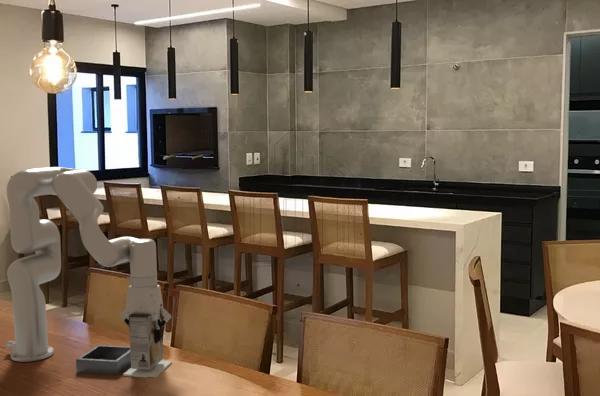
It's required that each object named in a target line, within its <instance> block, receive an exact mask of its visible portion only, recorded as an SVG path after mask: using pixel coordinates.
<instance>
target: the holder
mask: <svg viewBox="0 0 600 396" xmlns="http://www.w3.org/2000/svg"><path fill="white" fill-rule="evenodd" d="M75 362H76V363H75V364H76V365H75V369H76V373H79V374H80V373H81V374H92V375H93V374H95V375H97V374H99V375H112V376H118V375H120V374H121V373H122V372H123V371H125V370H126V369H127V368H128V367H131V355H130V346H127V345H125V346H123V345H121V346H120V345H104V344H103V345H101V344H97V345H95V346H94V347H92V348H91V349H90V350H88V351H87V352H85V353H83V354H82V355H80V356H79V357H77V358H76V359H75Z"/></svg>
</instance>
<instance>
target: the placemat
mask: <svg viewBox="0 0 600 396" xmlns="http://www.w3.org/2000/svg"><path fill="white" fill-rule="evenodd" d="M172 363H173V362H172V361H171V360H161V361H160V362H159V363H158V364H157V365H155V366H154V367H153V368H152V369H151V370H146V369H132V368H131V367H130V368H128V369H127V370H126V371H125V372H123V374H122V377H132V376H133V377H134V378H147V377H155V378H154V379H156V378H157V377H159V374H160V373H161V372H162V373H163V372H164V371H165V370H166V369H167V368H168V367H170V366H171V365H172ZM162 373H161V374H162ZM161 374H160V375H161Z"/></svg>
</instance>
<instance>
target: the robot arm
mask: <svg viewBox="0 0 600 396" xmlns="http://www.w3.org/2000/svg"><path fill="white" fill-rule="evenodd" d="M97 189H98V181H97V178H96V177H95V175H94V174H93V173H92V172H91V171H89V170H86V169H80V168H70V167H69V168H68V167H62V166H61V167H60V166H50V167H35V168H26V169H23V170H20V171H17V172H15V173H14V174H12V176H10V178H9V180H8V182H7V185H6V197H7V198H6V199H7V203H8V209H9V227H10V228H9V229H10V231H9V232H10V243H11V247H12V248H13V250H14V252H16V253H17V254H28V253H29V254H30V253H34V252H35V254H33V255H28V256H25V257H20V258H18V259H15V260H14V261H13V262H12V263H11V264H10V265H9V266H8V268H7V273H6V276H7V281H8V284H9V289H10V292H11V299H12V311H13V312H12V313H13V325H14V329H13V330H14V340H8V341H7V342H6V344H5V349H6V350H12V352H11V354H10V359H11V360H12V361H15V362H19V363H22V362H23V363H26V362H27V363H28V362H34V361H40V360H44V359H46V358H50V357H51V356H52V355H53V354H54V353H55V352H54V350H55V349H54V348H53V347H52V346H49V339H48V324H47V308H46V307H47V306H46V297H45V294H44V292H43V291H42V289H41V287H40V285H41V284H45V283H48V282H51V281H53V280H56V279H57V278H58V276H59V275H60V273H61V269H62V250H61V249H62V247H61V234H60V231H59V228H58V227H57V225H56V224H55V223H54V222H53V221H51V220H50V219H45V218H44V219H43V218H42V219H40V209H39V205H38V202H37V201H36V200H35V197H39V196H46V195H54V194H55V195H56V197H58V198H59V200H60V201H61V202H62V203H63V205H64V206H65V207H66V209H68V211H69V212H70V213H71V215H73V217H74V218H75V219H76V221H77V222H78V224H79V235H80V239H81V241H82V244H83V246H84V247H85V249H86V251H87V252H88V253H89V255H91V257H92V258H93V259H94V260H95V261H96V262H97V263H98V264H99V265H101V266H103V267H104V268H105V267H106V268H111V267H115V266H118V265H121V264H124V263H128V262H129V268H130V271H129V272H130V276H127V277H126V282H129V286H127V287H128V288H127V292H126V299H125V301H126V302H125V308H124V309H123V311H121V312H120V313H119V317H120V318H121V319H122V320H123V321H124V323H125V324H126V325H127V326H128V328H129V315H130V314H149V315H151V321H152V322H154V326H155V328H156V329H155V330H154V342H155V343H158V342H159V341H160V340H161V339H162V340H163V330H162V329H163V327H164V326H165V325H166V324H167V322H169V320H170V319H171V318H172V314H171V313H169V311H167V310H166V308H164V302H163V295H162V290H161V286H160V284H158V268H157V266H158V265H157V263H158V262H157V246H156V244H157V243H156V242H155V240H154V239H152V238H137V237H134V236H133V237H132V236H120V237H117V238H112V239H108V238H107V236H105V234H104V232H103V231H102V230H101V228H100V226H99V222H98V219H99V217H100V216H101V215H102V214H103V212H104V205H103V204H102V202H101V201H100V200H99V199H98V197H97V196H96V195H95V193H96V191H97ZM160 317H161V319H160ZM162 317H163V319H162Z"/></svg>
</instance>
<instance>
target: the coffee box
mask: <svg viewBox="0 0 600 396" xmlns="http://www.w3.org/2000/svg"><path fill="white" fill-rule="evenodd" d="M160 319H161V320H162V317H160ZM155 329H156V328H155V326H154V322H152V321H151V315H149V314H130V315H129V327H128V330H129V331H128V333H129V347H130V355H131V365H130V368H132V369H146V370H151V369H152V368H153V367H154V366H155V365H157V364H158V363H159V362H160V361H163V359H164V351H163V350H164V348H163V347H164V346H163V338H162V339H161V340H160V341H159V342H158V343H155V342H154V330H155Z"/></svg>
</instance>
